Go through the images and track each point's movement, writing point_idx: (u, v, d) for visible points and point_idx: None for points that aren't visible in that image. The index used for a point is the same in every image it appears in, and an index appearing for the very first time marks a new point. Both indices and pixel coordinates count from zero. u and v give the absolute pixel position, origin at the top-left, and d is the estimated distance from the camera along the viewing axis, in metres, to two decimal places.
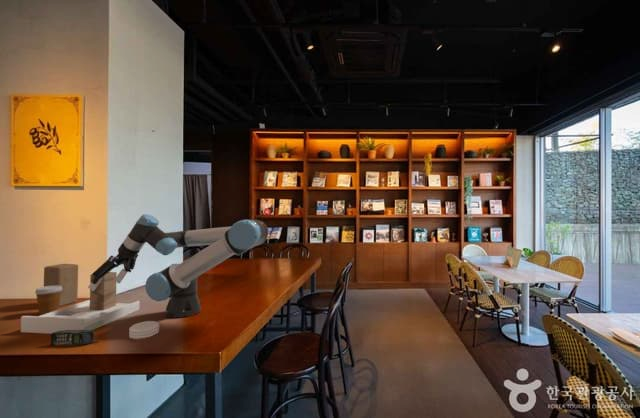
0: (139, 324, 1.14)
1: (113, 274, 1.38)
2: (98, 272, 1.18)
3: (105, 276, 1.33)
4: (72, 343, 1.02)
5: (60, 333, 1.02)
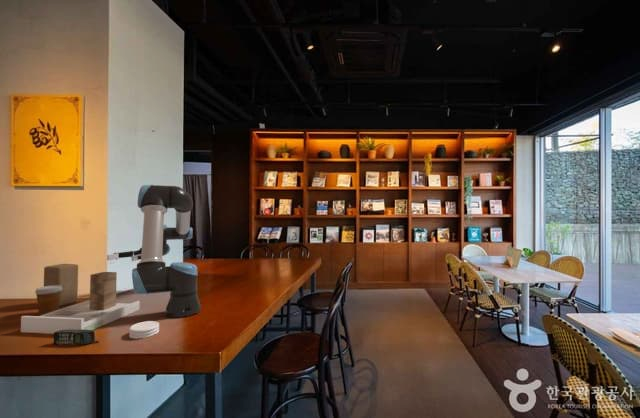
0: (139, 324, 1.14)
1: (113, 274, 1.38)
2: None
3: (105, 276, 1.33)
4: (73, 343, 1.03)
5: (62, 332, 1.03)
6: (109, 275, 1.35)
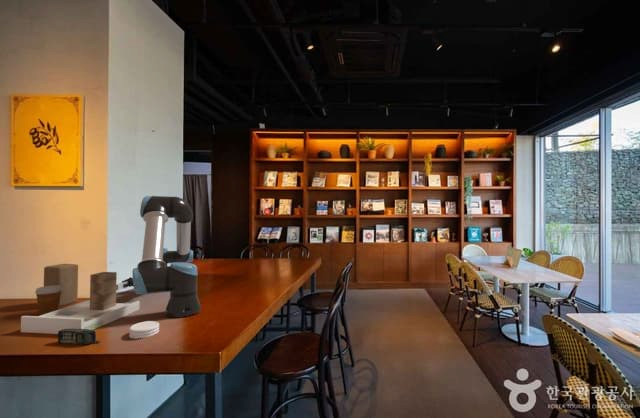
0: (139, 324, 1.14)
1: (113, 274, 1.38)
2: None
3: (105, 276, 1.33)
4: (76, 342, 1.03)
5: (66, 331, 1.04)
6: (109, 275, 1.35)
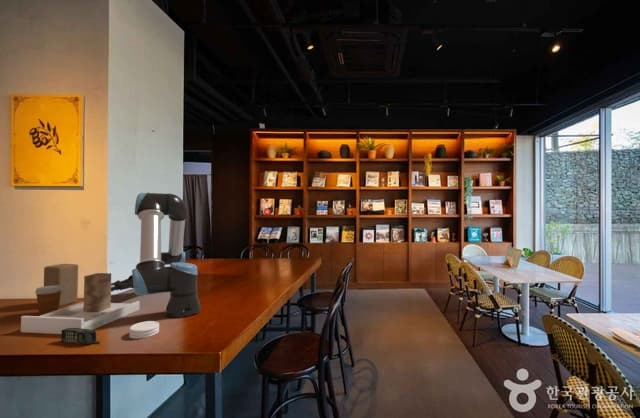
0: (139, 324, 1.14)
1: (108, 275, 1.35)
2: None
3: (100, 277, 1.30)
4: (77, 342, 1.03)
5: (68, 330, 1.05)
6: (104, 276, 1.33)
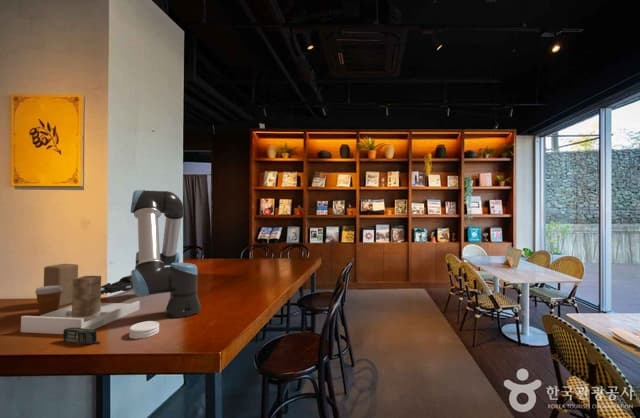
0: (139, 324, 1.14)
1: (98, 278, 1.29)
2: None
3: (90, 280, 1.25)
4: (78, 341, 1.04)
5: (70, 330, 1.05)
6: (94, 279, 1.27)
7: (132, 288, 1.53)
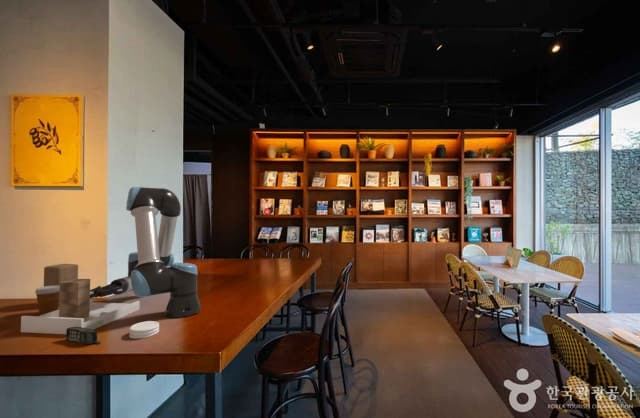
0: (139, 324, 1.14)
1: (87, 281, 1.23)
2: None
3: (79, 284, 1.19)
4: (79, 341, 1.04)
5: (72, 329, 1.06)
6: (83, 282, 1.21)
7: (124, 291, 1.46)
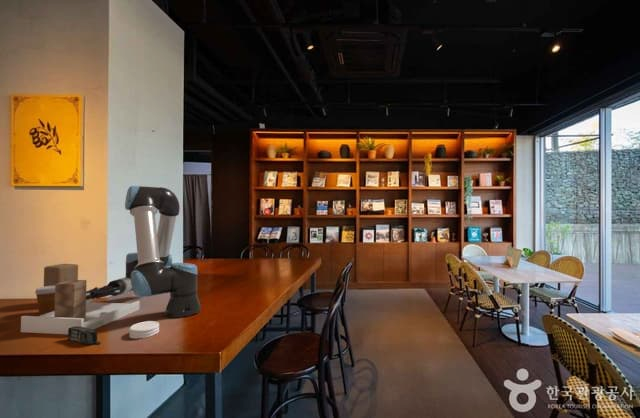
0: (139, 324, 1.14)
1: (83, 282, 1.21)
2: None
3: (75, 285, 1.16)
4: (80, 341, 1.04)
5: (74, 329, 1.06)
6: (79, 284, 1.19)
7: (121, 292, 1.44)
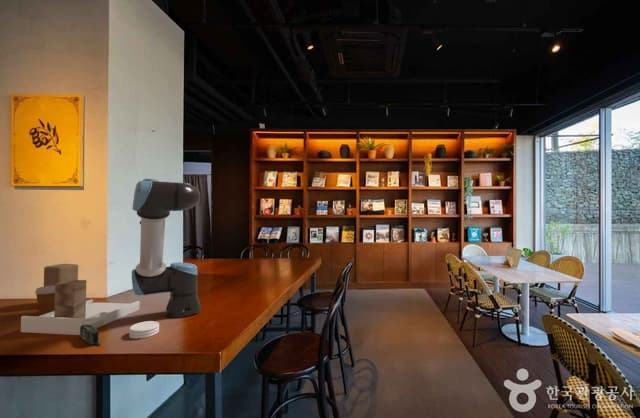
0: (139, 324, 1.14)
1: (83, 282, 1.21)
2: None
3: (75, 285, 1.16)
4: (86, 340, 1.05)
5: (83, 327, 1.08)
6: (79, 284, 1.18)
7: None
